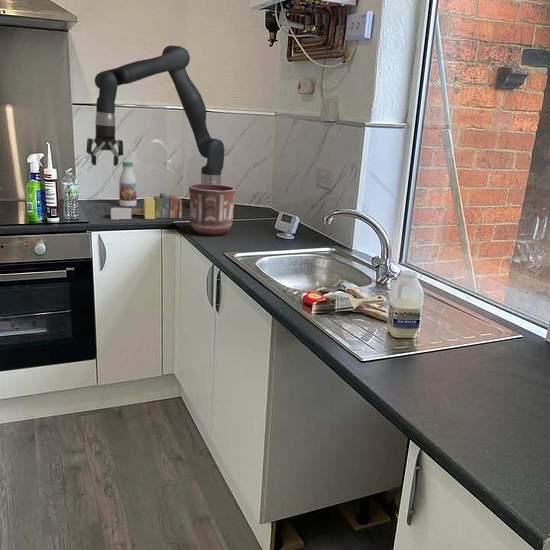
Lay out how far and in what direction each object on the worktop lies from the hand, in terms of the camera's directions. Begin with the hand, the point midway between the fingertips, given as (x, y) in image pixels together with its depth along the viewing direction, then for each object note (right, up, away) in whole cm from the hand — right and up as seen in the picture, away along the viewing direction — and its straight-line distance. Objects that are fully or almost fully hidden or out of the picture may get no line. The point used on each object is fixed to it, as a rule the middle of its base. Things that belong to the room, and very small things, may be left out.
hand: (105, 165), depth 231 cm
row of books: (+14, -20, +13) cm, 28 cm away
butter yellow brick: (+15, -20, +12) cm, 28 cm away
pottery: (+44, -28, -7) cm, 53 cm away
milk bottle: (0, -12, +36) cm, 38 cm away
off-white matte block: (+4, -21, +8) cm, 23 cm away
